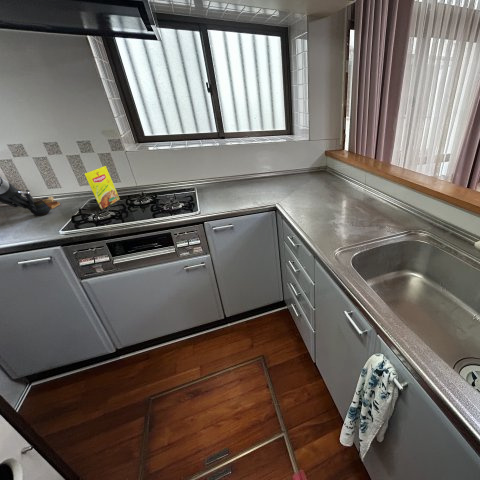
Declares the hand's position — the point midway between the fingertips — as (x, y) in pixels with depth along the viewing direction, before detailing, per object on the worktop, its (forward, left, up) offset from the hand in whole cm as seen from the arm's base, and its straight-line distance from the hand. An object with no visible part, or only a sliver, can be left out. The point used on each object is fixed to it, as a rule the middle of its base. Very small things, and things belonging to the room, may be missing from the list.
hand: (34, 209), depth 136 cm
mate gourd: (-2, +4, -5) cm, 7 cm away
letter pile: (-7, +14, -5) cm, 17 cm away
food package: (+26, +16, -5) cm, 31 cm away
